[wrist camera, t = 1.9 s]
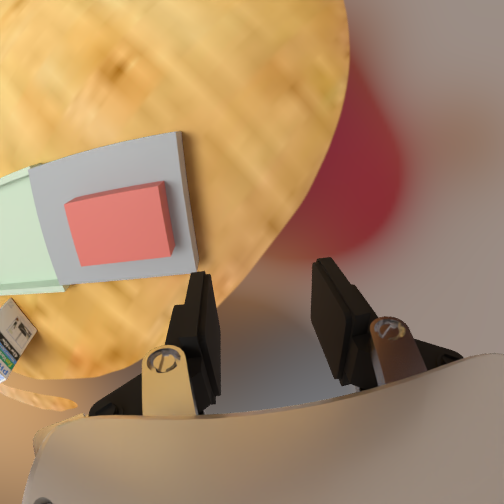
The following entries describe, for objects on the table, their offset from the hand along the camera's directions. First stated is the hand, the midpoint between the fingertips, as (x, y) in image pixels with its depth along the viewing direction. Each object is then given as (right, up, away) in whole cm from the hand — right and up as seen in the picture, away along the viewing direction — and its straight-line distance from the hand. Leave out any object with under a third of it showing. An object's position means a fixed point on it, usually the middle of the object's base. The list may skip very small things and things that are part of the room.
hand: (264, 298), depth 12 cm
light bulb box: (-38, -10, +20) cm, 44 cm away
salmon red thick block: (-12, +5, +12) cm, 18 cm away
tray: (-30, +4, +14) cm, 34 cm away
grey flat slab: (-14, +6, +15) cm, 22 cm away
